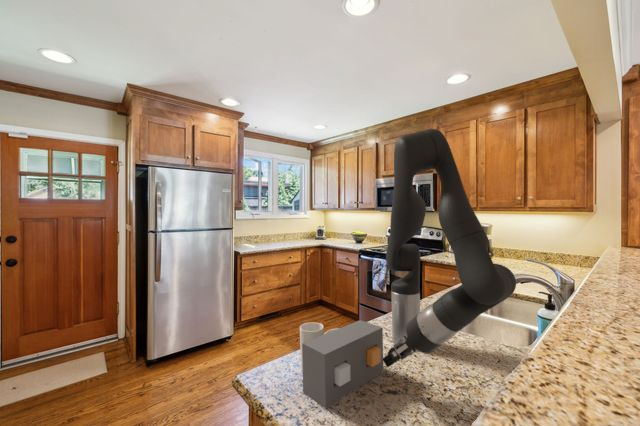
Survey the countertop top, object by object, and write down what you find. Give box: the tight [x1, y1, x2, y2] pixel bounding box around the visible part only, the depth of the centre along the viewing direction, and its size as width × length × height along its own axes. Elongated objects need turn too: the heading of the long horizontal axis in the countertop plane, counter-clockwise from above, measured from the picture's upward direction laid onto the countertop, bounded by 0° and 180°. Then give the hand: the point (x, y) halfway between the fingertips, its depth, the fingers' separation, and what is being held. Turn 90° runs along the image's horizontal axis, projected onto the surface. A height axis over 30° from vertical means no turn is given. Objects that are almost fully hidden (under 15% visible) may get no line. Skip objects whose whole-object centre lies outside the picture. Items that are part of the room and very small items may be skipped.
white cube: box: [333, 362, 350, 386], centre depth 67 cm, size 4×4×4 cm
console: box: [302, 319, 384, 409], centre depth 73 cm, size 22×8×12 cm, turn 132°
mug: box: [299, 321, 325, 373], centre depth 81 cm, size 10×7×12 cm, turn 24°
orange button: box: [366, 346, 381, 367], centre depth 75 cm, size 4×4×4 cm
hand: (386, 362), depth 71 cm, fingers closed
